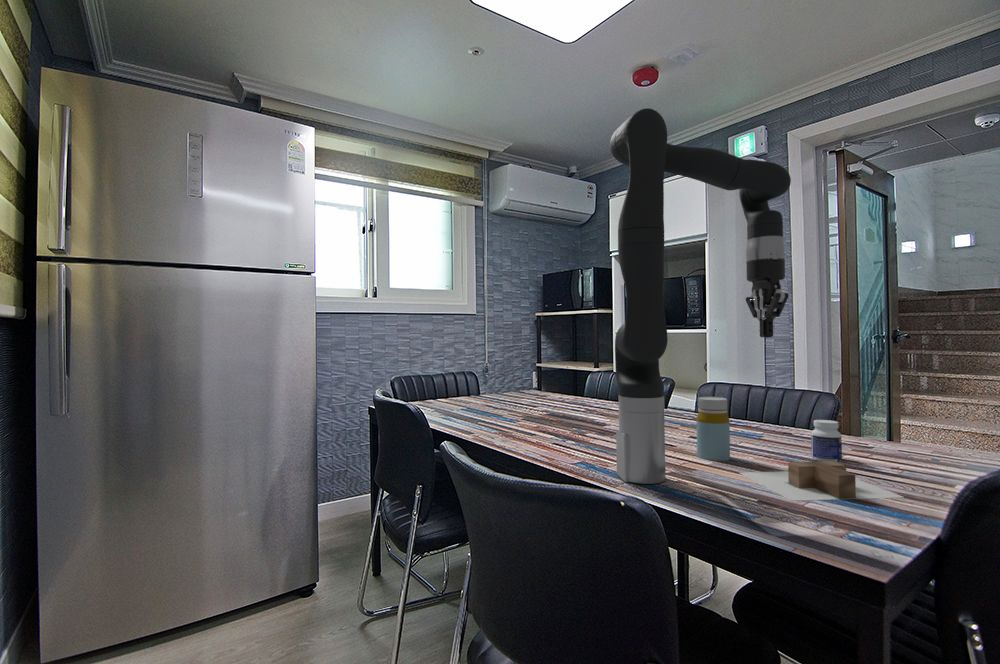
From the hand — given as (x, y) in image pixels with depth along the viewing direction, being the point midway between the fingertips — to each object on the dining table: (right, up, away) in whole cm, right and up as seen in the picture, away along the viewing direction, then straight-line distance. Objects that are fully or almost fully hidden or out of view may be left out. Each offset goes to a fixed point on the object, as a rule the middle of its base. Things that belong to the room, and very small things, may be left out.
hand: (766, 337), depth 109 cm
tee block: (0, -27, -20) cm, 34 cm away
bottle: (-10, -29, +5) cm, 31 cm away
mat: (0, -29, -17) cm, 33 cm away
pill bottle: (+14, -29, +2) cm, 32 cm away
